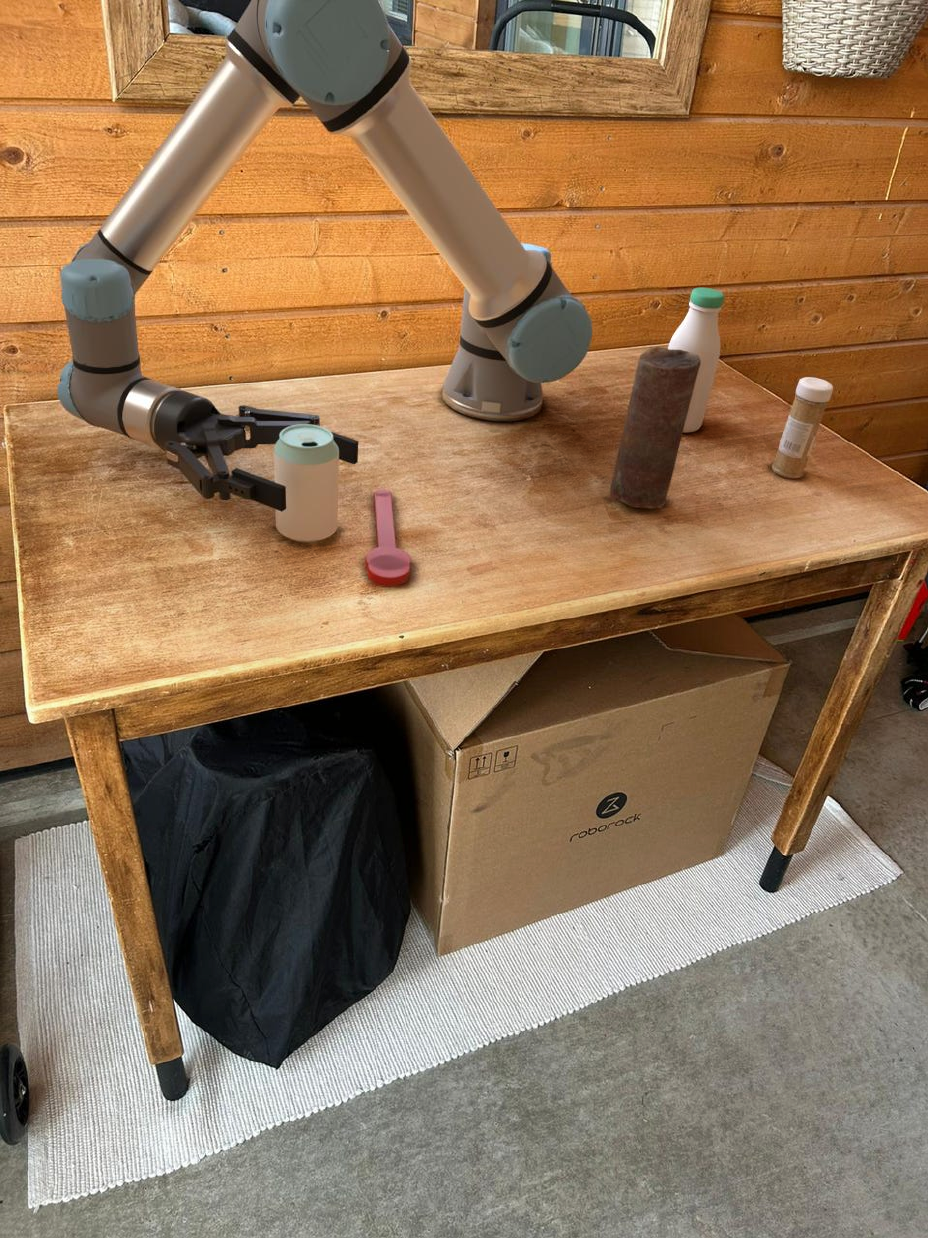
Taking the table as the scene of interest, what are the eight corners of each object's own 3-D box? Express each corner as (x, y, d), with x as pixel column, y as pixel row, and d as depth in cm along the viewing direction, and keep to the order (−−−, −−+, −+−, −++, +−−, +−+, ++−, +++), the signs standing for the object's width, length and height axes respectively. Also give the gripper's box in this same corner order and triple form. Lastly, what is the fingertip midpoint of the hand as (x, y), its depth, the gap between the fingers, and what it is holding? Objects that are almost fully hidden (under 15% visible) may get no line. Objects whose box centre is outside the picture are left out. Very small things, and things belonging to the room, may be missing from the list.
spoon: (361, 495, 116) (362, 486, 115) (402, 496, 116) (402, 487, 116) (366, 586, 100) (366, 577, 99) (412, 587, 101) (413, 578, 100)
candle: (650, 523, 117) (688, 370, 105) (598, 503, 120) (629, 353, 108) (672, 500, 123) (711, 353, 111) (622, 482, 125) (654, 336, 113)
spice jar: (809, 476, 132) (841, 386, 124) (788, 482, 130) (819, 391, 122) (784, 462, 135) (814, 373, 127) (763, 468, 133) (792, 378, 125)
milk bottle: (703, 419, 145) (738, 289, 133) (697, 438, 139) (733, 304, 127) (655, 408, 147) (685, 279, 135) (646, 426, 141) (677, 293, 129)
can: (349, 528, 109) (352, 434, 102) (310, 553, 104) (310, 456, 97) (303, 508, 112) (302, 415, 105) (263, 531, 107) (259, 435, 100)
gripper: (243, 415, 121) (381, 464, 114) (97, 489, 103) (250, 552, 96) (240, 360, 117) (384, 406, 110) (87, 427, 98) (247, 488, 91)
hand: (322, 474), depth 103 cm, fingers open, 13 cm apart
